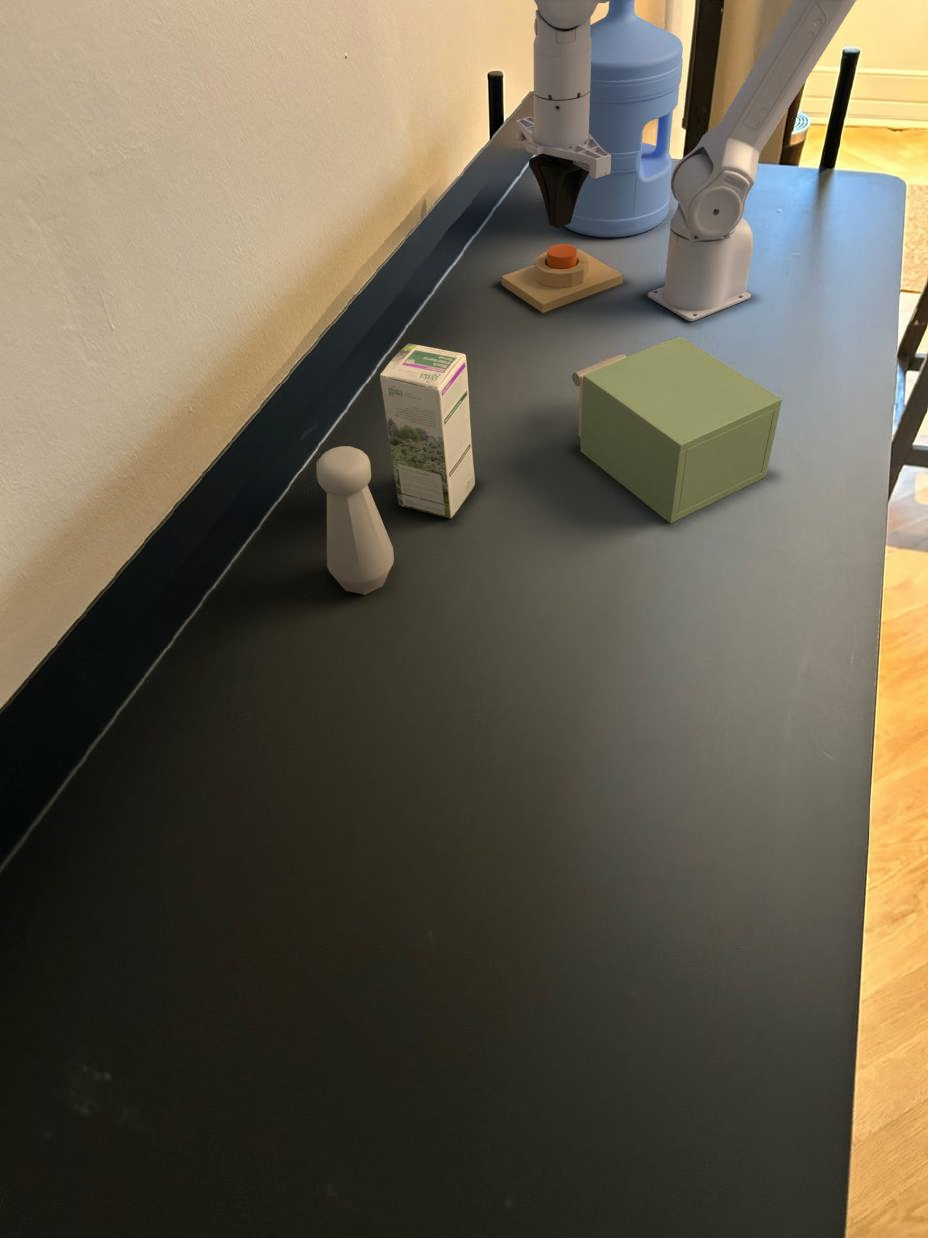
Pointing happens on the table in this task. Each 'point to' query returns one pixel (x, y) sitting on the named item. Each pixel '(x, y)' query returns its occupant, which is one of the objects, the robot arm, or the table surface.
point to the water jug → (629, 123)
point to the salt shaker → (353, 522)
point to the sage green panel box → (677, 427)
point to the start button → (562, 256)
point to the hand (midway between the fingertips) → (560, 223)
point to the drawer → (578, 375)
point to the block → (560, 281)
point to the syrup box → (429, 428)
